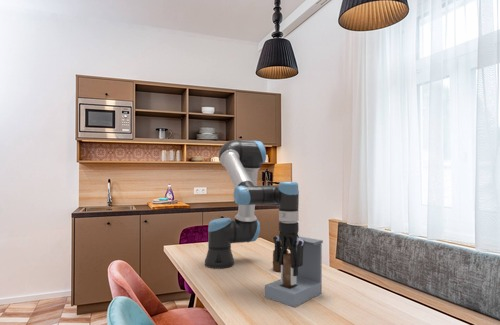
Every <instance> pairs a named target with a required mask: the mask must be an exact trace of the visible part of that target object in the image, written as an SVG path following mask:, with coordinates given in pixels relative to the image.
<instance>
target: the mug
mask: <svg viewBox="0 0 500 325" xmlns="http://www.w3.org/2000/svg"><path fill="white" fill-rule="evenodd" d="M287 253H289V249H287ZM272 269H273V271H274V272H276V273H280V271H279V270H280V268H279V263H278V262H276V261H275V249H273V251H272Z"/></svg>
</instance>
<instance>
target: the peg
mask: <svg viewBox="0 0 500 325" xmlns="http://www.w3.org/2000/svg"><path fill="white" fill-rule="evenodd" d="M291 267H292V260H291V254H290V252H288V253H285V254H283V287H285V288H288V289H291V288H294V285H291Z"/></svg>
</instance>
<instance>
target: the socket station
mask: <svg viewBox="0 0 500 325" xmlns="http://www.w3.org/2000/svg"><path fill="white" fill-rule="evenodd" d="M299 239H301V240H304V241H305V243H304V246H303V265H302V266H300V267H298V276H296V284H294V288H291V289H288V288H285V287H283V282H281V278H280V279H277V280H275V281H272V282H270V283H267V284H265V285H264V298H266V299H269V300H273V301H275V302H277V303H282V304H284V305H287V306H291V307H294V308H296V307H297V306H299V305H302V304H303V303H305V302H308V301H309V300H312V299H314V298H315V297H317V296H320V295H322V294H323V293H322V292H323V290H322V287H323V286H322V280H323V279H322V277H323V276H322V274H323V273H322V272H323V271H322V268H323V267H322V265H323V264H322V263H323V262H322V259H323V258H322V257H323V255H322V253H323V252H322V249H323V248H322V245H323V242H324V240H322V239H316V238H310V237H304V236H299ZM296 246H297V242H296ZM292 247H293V246H292ZM296 251H297V248H296Z"/></svg>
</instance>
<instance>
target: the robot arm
mask: <svg viewBox="0 0 500 325" xmlns="http://www.w3.org/2000/svg"><path fill="white" fill-rule="evenodd" d="M266 159H267V151H266V146H265V144H264V143H263V142H262V141H259V140H252V139H250V140H248V139H247V140H246V139H245V140H242V139H241V140H238V139H232V140H229V141H226V142H225V143H224V144H222V146H221V147H220V149H219V152H218V160H219V162H220V164H221V165H222V167H224V168H225V170H226V171H227V174H228V176H229V178H230V180H231V183H232V184H233V186H234V189H233V201H234V204H236V205H238V209H237V210H238V211H237V214H236V215H235V216H234V220H232V219H231V218H230V217H221V218H215V219H211V220H210V221H209V223H208V229H207V231H208V234H207V236H208V237H207V238H208V241H207V242H208V243H207V244H208V246H207V248H208V249H207V254H206V257H205V259H204V266H205V267H207V268H210V269H226V268H227V269H228V268H230V267H233V266H235V258H234V256H233V253H232V252H233V251H232V249H231V248H232V244H239V243H241V244H242V243H252V242H256V241H257V240H258V238H259V237H260V233H261V226H260V225H261V223H260V221H259V220H258V218H257V216H256V215H255V209H256V208H255V207H256V205H278V207H279V208H278V220H279V222H278V231H279V233H278V235H275V236H273V238H272V239H273V242H274V250H275V261H276V262H278V263H279V268H280V270H279V271H280V272H279V273H280V279H281V282H283V254H285V253H287V250H289V253H290V254H291V260H292V267H291V285H294V284H296V276H298V267H300V266H302V265H303V246H304V243H305V241H304V240H301V239H299V237H300V236H299V231H300V230H299V227H300V226H299V222H298V221H299V212H300V211H299V205H300V204H299V201H300V200H299V199H300V194H299V193H300V190H299V184H298V182H297V181H280V182H279V183H278V185H277V184H274V185H273V184H272V185H258V184H257V182H258V172H259V170H260V169H261V168H262V165H263V164H265V162H266ZM296 242H297V246H296ZM292 246H293V247H292ZM296 248H297V251H296Z"/></svg>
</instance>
